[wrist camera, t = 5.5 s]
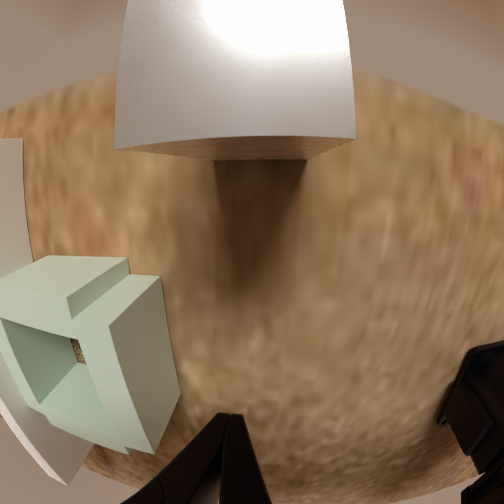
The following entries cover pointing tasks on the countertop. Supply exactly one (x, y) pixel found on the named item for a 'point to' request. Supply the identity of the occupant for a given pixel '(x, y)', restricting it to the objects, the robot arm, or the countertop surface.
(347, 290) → the countertop surface
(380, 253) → the countertop surface
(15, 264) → the backstop wall
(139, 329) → the socket block
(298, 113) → the grey square block
